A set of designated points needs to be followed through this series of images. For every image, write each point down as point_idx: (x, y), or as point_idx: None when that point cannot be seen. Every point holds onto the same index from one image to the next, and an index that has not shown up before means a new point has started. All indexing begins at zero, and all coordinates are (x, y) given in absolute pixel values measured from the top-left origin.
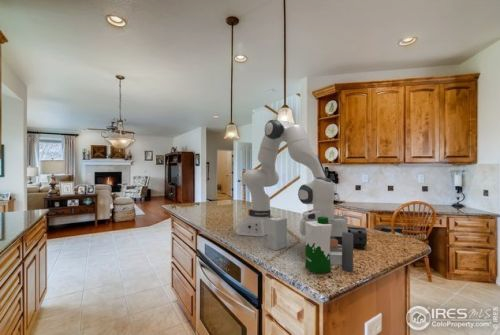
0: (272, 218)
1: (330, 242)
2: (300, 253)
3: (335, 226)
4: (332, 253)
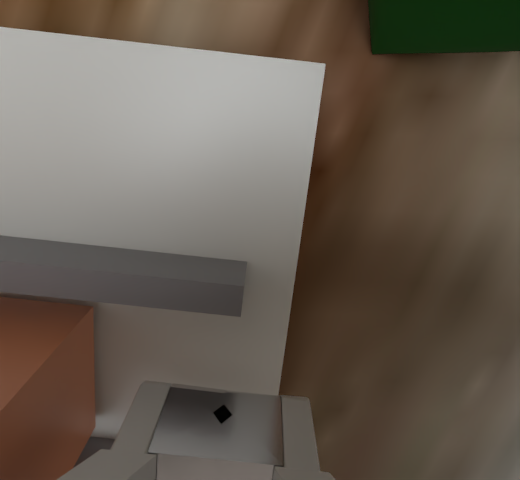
0: None
1: (5, 455)
2: (470, 466)
3: None
4: (117, 134)
